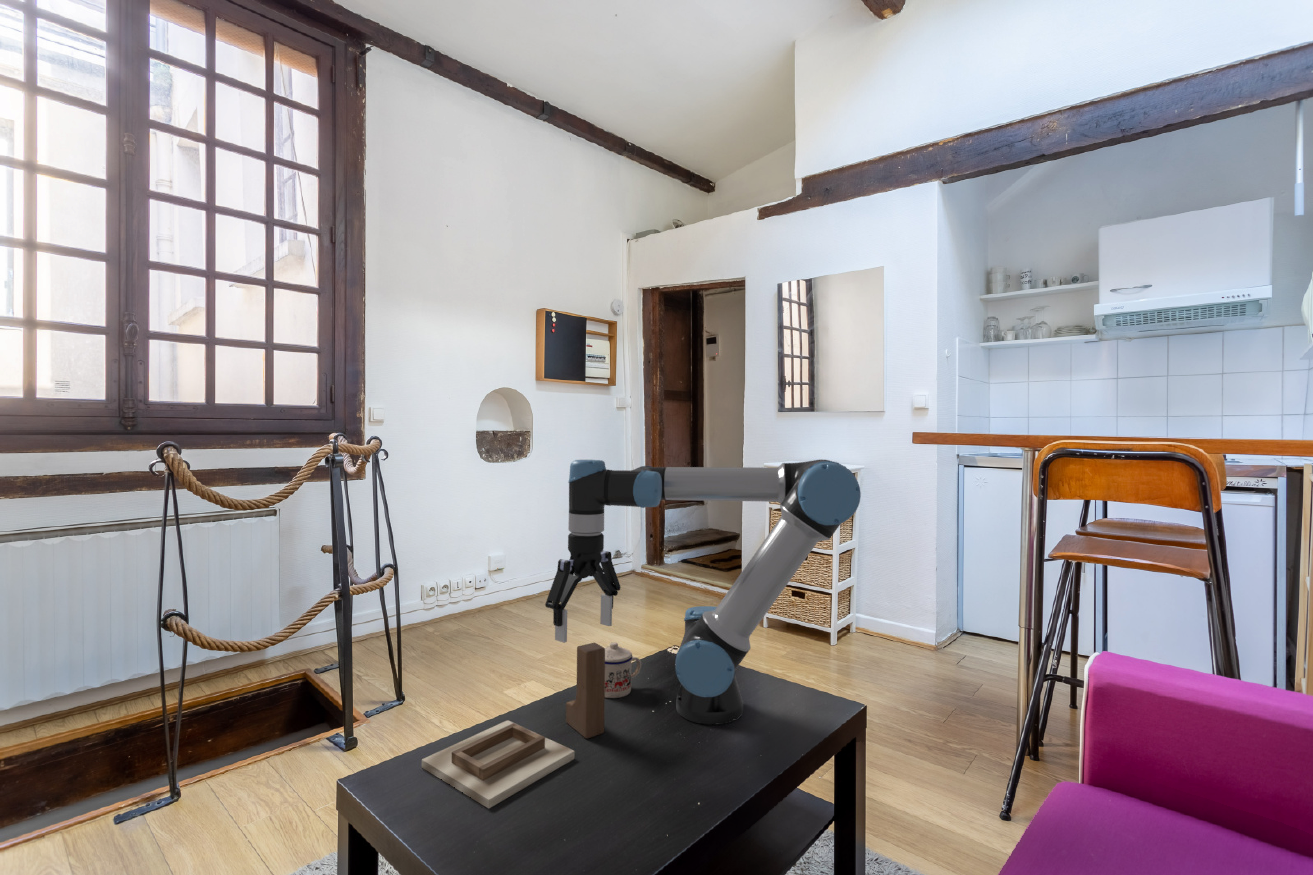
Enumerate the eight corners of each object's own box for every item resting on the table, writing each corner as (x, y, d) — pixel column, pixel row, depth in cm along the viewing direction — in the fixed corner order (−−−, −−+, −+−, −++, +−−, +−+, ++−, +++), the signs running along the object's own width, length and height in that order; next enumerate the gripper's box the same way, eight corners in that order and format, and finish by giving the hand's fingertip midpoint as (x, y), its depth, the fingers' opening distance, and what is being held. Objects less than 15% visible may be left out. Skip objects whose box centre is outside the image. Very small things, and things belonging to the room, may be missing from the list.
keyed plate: (574, 758, 118) (574, 740, 118) (488, 808, 102) (488, 787, 102) (507, 727, 130) (507, 710, 130) (421, 767, 115) (421, 748, 115)
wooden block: (565, 722, 133) (566, 639, 132) (583, 717, 135) (584, 635, 135) (586, 739, 125) (587, 652, 125) (604, 733, 128) (605, 647, 128)
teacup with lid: (604, 702, 143) (604, 652, 143) (588, 687, 151) (589, 640, 151) (649, 692, 149) (649, 644, 149) (632, 678, 157) (632, 633, 157)
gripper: (612, 524, 142) (610, 615, 142) (528, 538, 122) (526, 644, 123) (637, 527, 138) (635, 622, 138) (554, 542, 118) (552, 653, 118)
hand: (584, 632), depth 130 cm, fingers open, 13 cm apart
